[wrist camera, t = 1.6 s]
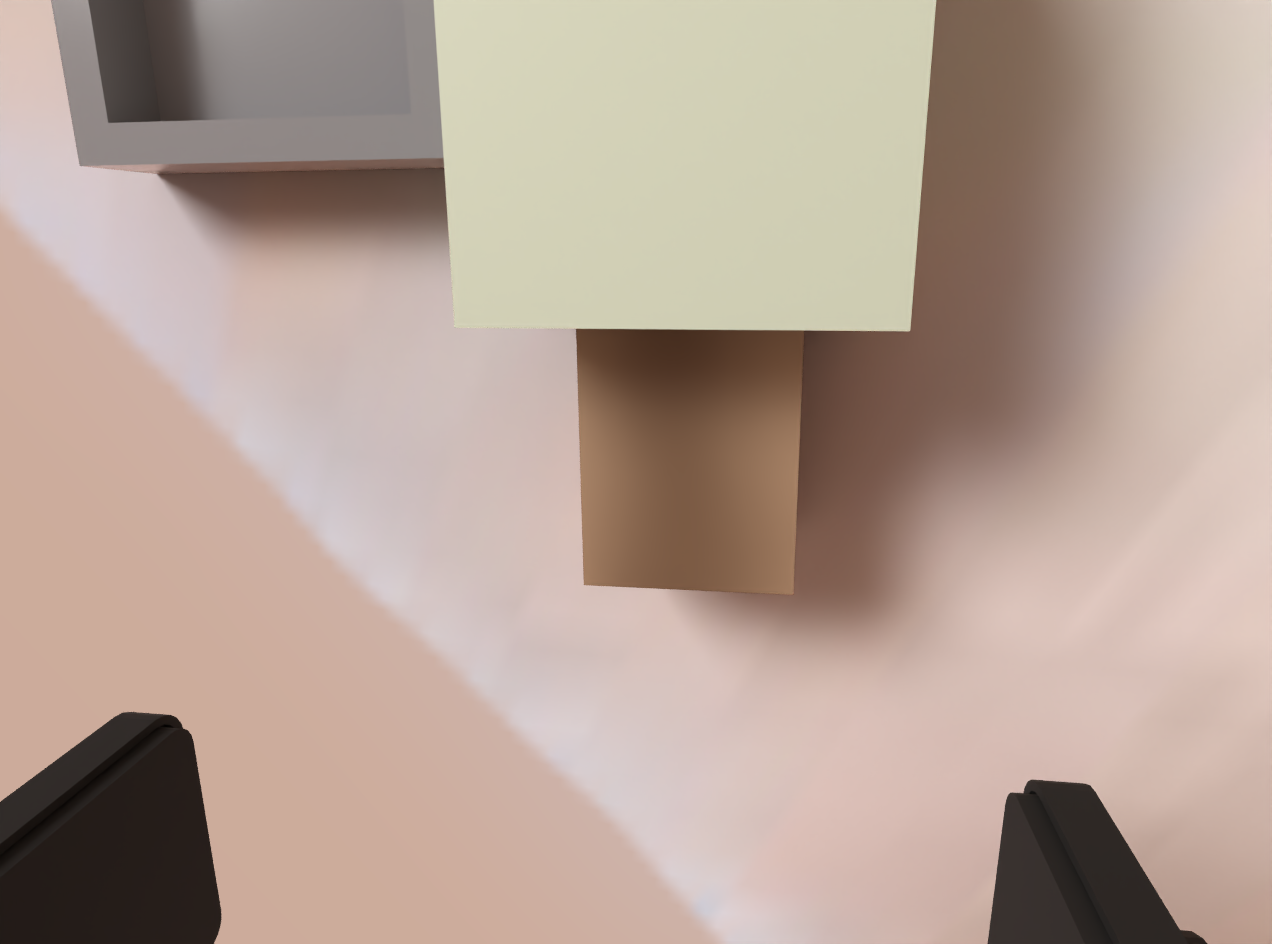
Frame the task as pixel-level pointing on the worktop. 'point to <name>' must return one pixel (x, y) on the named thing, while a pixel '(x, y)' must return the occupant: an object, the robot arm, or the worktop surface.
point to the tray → (251, 84)
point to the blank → (690, 457)
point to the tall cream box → (684, 162)
